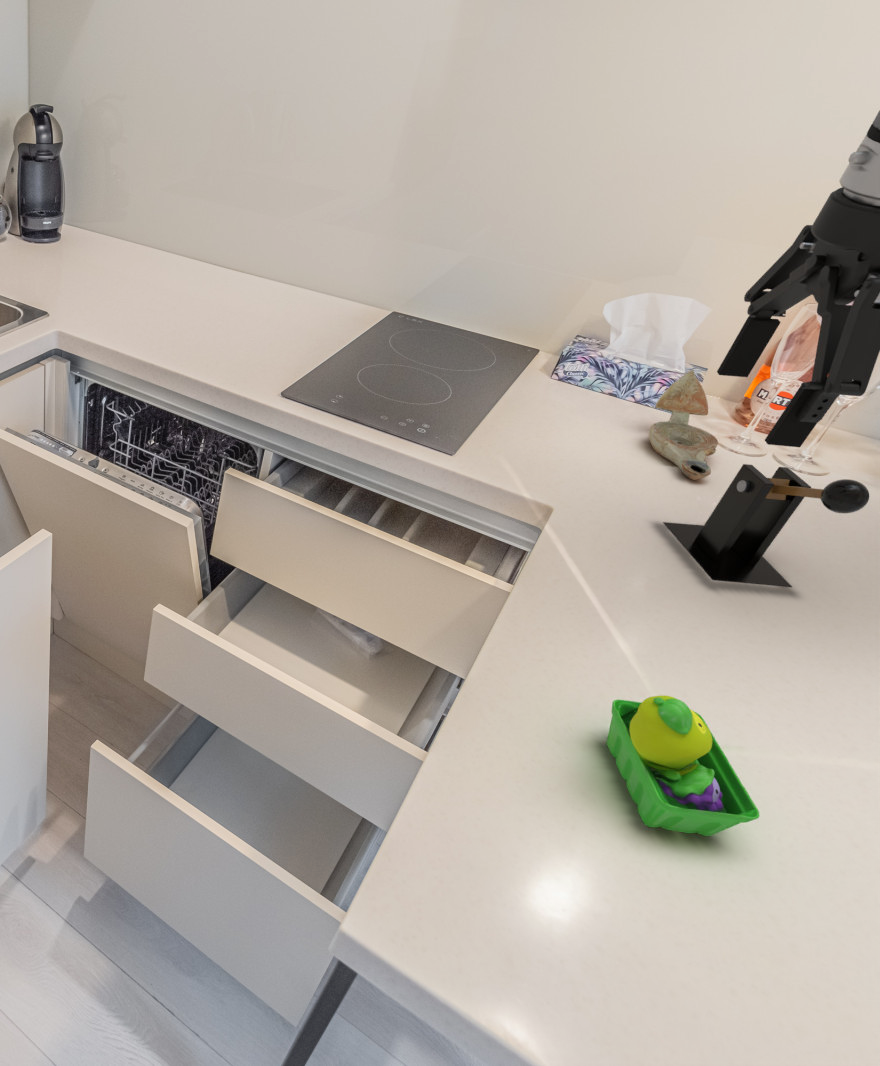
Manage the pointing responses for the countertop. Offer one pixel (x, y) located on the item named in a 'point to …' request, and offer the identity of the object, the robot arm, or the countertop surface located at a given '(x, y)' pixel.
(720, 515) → the switch bracket
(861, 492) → the switch lever
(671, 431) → the oil lamp
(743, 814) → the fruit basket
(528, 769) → the countertop surface
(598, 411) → the countertop surface
